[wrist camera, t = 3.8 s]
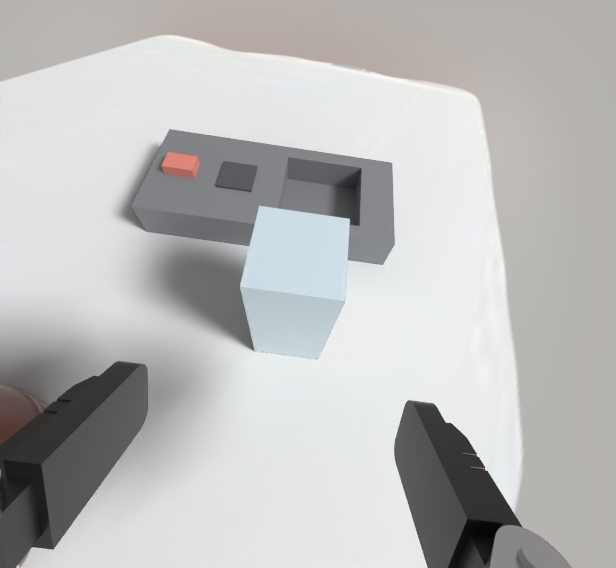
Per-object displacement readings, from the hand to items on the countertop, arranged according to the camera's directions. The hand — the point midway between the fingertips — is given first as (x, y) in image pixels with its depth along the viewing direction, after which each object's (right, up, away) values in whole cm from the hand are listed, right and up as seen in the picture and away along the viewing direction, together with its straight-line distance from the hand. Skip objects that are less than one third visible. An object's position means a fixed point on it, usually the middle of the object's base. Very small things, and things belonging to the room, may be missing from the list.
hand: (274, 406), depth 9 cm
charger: (0, +1, +13) cm, 13 cm away
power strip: (-2, +11, +18) cm, 21 cm away
